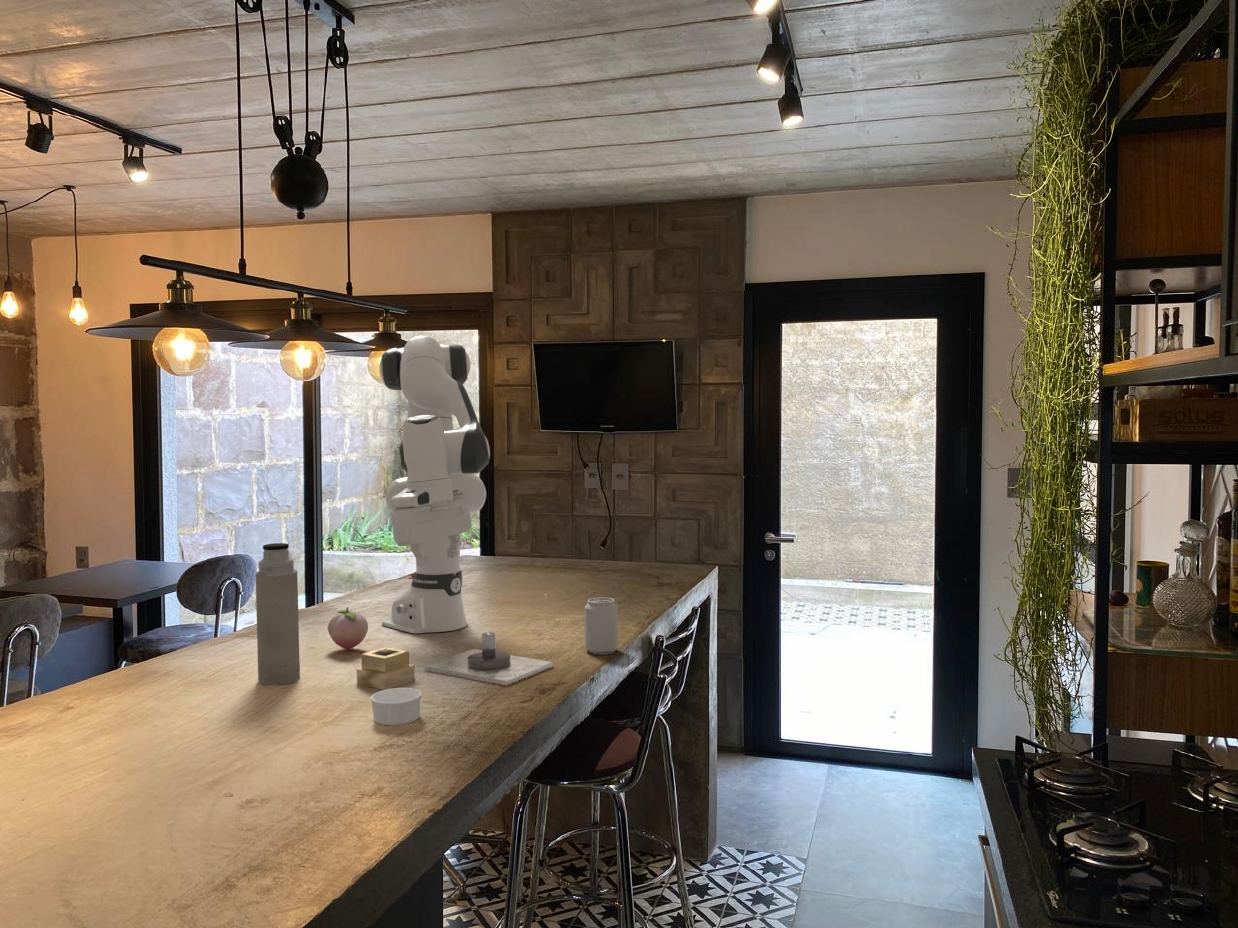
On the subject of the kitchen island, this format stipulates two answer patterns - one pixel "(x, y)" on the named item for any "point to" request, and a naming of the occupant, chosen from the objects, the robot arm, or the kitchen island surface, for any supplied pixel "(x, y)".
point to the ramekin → (396, 706)
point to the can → (601, 626)
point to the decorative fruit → (348, 629)
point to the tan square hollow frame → (385, 660)
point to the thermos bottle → (277, 617)
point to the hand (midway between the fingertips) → (438, 560)
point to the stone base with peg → (489, 664)
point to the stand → (385, 676)
